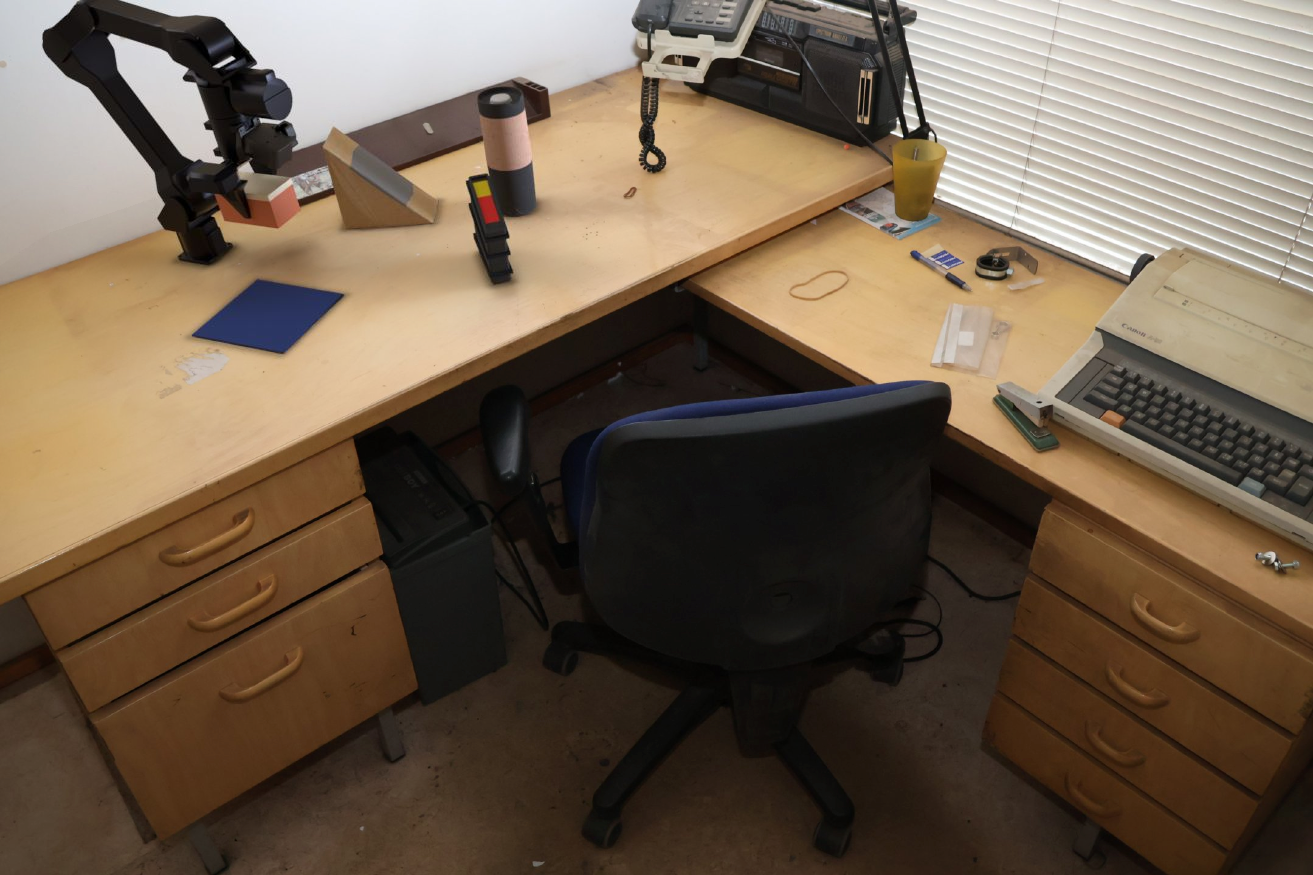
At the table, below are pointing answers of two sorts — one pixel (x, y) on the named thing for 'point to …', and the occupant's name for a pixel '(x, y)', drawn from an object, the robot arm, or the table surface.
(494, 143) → the travel mug
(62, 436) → the table surface
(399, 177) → the sandwich container
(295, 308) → the blue cloth
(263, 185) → the box
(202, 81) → the robot arm
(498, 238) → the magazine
